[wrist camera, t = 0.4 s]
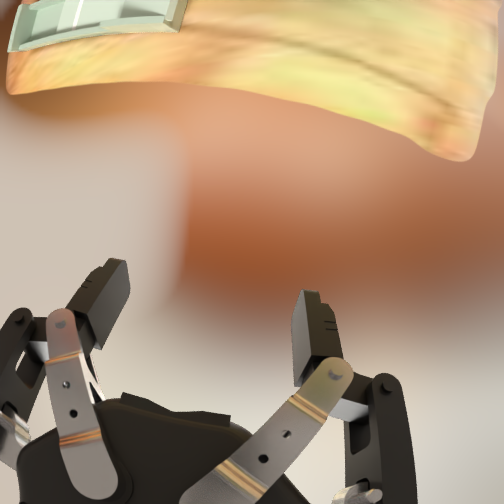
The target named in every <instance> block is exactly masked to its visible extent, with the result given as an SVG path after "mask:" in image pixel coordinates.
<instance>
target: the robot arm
mask: <svg viewBox="0 0 504 504" xmlns="http://www.w3.org/2000/svg"><path fill="white" fill-rule="evenodd" d="M129 294H130V282H129V276H128V269H127V264H126V261H125V260H120V259H114V258H109V259H108V260H107V262H106V263H105V265H104V266H103V267H100V266H99V267H98V268H96V269H95V270H94V271H92V272H91V273H90V274H89V275H88V277H87V278H86V279H85V281H84V282H83V283H82V285H81V287H80V288H79V289H78V290H77V292H76V293H75V295H74V296H73V297H72V299H71V300H70V302H69V303H68V305H67V306H66V307H65V309H63V308H61V309H57V310H55V311H53V312H52V313H50V315H49V316H48V317H33V315H32V313H31V311H30V310H29V309H27V308H19V309H16V310H15V311H13V312H12V313H11V314H10V316H9V317H8V319H7V320H6V322H5V324H4V325H3V327H2V328H1V330H0V460H1V461H2V462H4V463H5V464H7V465H8V466H9V467H11V468H12V469H14V470H16V471H17V477H18V482H19V490H20V502H19V504H310V503H309V502H308V501H307V499H306V498H305V497H304V496H303V495H302V494H301V493H300V492H299V490H298V489H297V488H296V487H295V486H294V485H293V483H292V482H291V481H290V480H289V479H288V478H287V477H286V475H285V474H284V472H285V471H286V470H287V468H288V467H289V466H290V465H291V464H292V463H293V462H294V460H295V459H296V458H297V457H298V456H299V454H300V453H301V452H302V451H303V450H304V449H305V447H306V446H307V445H308V444H309V442H310V441H311V440H312V439H313V437H314V436H315V435H316V433H317V432H318V431H319V430H320V428H321V427H322V426H323V424H324V423H325V421H326V420H327V417H328V416H331V417H335V418H338V419H341V420H344V439H345V489H342V490H340V491H339V492H338V493H337V494H336V495H335V496H334V498H333V500H332V504H418V500H417V484H416V473H415V465H414V464H415V463H414V455H413V448H412V441H411V434H410V428H409V422H408V417H407V411H406V407H405V401H404V396H403V391H402V387H401V384H400V382H399V381H398V379H396V378H395V377H394V376H393V375H390V374H388V373H381V374H378V375H376V376H375V378H374V379H373V378H369V377H366V376H363V375H360V374H357V373H355V372H353V370H352V368H351V366H350V365H349V363H348V362H346V361H345V360H344V359H343V353H342V348H341V344H340V338H339V333H338V331H337V330H338V329H337V324H336V319H335V315H334V312H333V311H332V309H331V308H330V306H329V305H328V304H324V303H321V300H320V295H319V292H318V291H312V290H304V289H302V290H301V291H300V294H299V297H298V300H297V303H296V306H295V309H294V312H293V315H292V321H291V332H292V350H293V371H294V386H295V387H301V388H300V389H299V390H298V391H297V392H296V393H295V394H294V395H292V396H291V397H290V398H289V399H288V400H287V401H286V402H285V403H284V404H283V405H282V406H281V407H280V408H279V409H278V410H277V411H276V412H275V413H274V414H273V416H272V417H271V418H270V419H269V420H268V421H267V422H266V423H265V424H264V425H263V426H262V427H261V428H260V429H259V430H258V431H257V432H256V433H255V434H254V435H252V434H251V433H250V432H249V431H247V430H246V429H244V428H243V427H241V426H239V425H237V424H235V423H232V422H230V417H231V415H225V414H217V413H211V412H205V411H196V412H195V411H194V412H173V411H170V410H168V409H166V408H164V407H162V406H160V405H158V404H156V403H154V402H152V401H150V400H148V399H146V398H142V397H138V396H135V395H131V394H127V393H125V392H123V393H122V395H121V398H116V399H115V398H114V399H107V400H106V398H105V396H104V394H103V392H102V389H101V387H100V383H99V380H98V377H97V374H96V370H95V367H94V363H93V359H92V356H91V351H92V349H93V348H96V349H99V350H102V348H103V346H104V344H105V342H106V340H107V338H108V336H109V334H110V332H111V330H112V328H113V326H114V324H115V322H116V320H117V318H118V316H119V314H120V312H121V311H122V309H123V307H124V305H125V303H126V301H127V299H128V297H129ZM23 350H24V352H25V355H24V357H23V359H22V361H21V363H20V365H19V367H18V369H17V371H16V370H15V368H16V364H17V362H18V360H19V358H20V356H21V354H22V352H23ZM45 376H47V382H48V388H49V394H50V399H51V404H52V409H53V413H54V417H55V422H56V425H57V427H56V428H54V429H52V430H50V431H49V432H47V433H45V434H43V435H42V436H40V437H38V438H36V439H35V440H33V441H31V436H30V434H29V428H28V425H27V421H28V419H29V416H30V413H31V411H32V408H33V405H34V403H35V400H36V398H37V395H38V393H39V390H40V388H41V385H42V383H43V381H44V378H45ZM30 441H31V442H30Z"/></svg>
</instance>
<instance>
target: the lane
mask: <svg viewBox="0 0 504 504" xmlns="http://www.w3.org/2000/svg"><path fill="white" fill-rule="evenodd" d="M187 2H188V0H40V1H38V2H35V3H33V4H31V5H29V4H22V5H20V6H19V7H18V10H17V14H16V17H15V21H14V25H13V28H12V33H11V37H10V41H9V46H8V51H7V52H18V51H28V50H32V49H35V48H39V47H43V46H47V45H51V44H55V43H60V42H64V41H69V40H75V39H81V38H87V37H94V36H102V35H111V34H122V33H140V32H179V30H180V26H181V23H182V19H183V15H184V12H185V9H186V5H187Z"/></svg>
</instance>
